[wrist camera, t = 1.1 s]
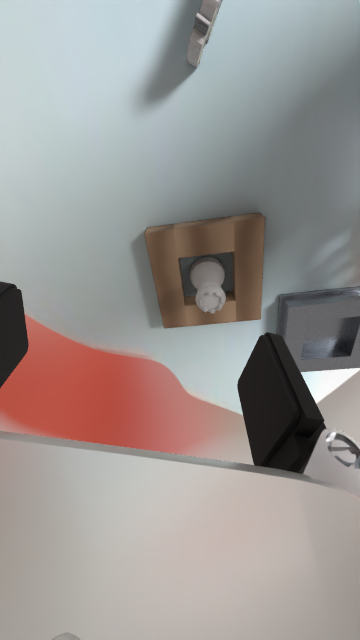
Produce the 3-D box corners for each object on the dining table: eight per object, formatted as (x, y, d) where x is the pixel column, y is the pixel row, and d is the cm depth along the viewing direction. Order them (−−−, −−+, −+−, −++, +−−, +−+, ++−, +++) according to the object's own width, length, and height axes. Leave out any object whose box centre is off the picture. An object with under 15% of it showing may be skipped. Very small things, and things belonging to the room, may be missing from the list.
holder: (382, 284, 35) (394, 293, 33) (358, 358, 42) (367, 369, 40) (279, 294, 36) (285, 304, 34) (273, 364, 43) (278, 376, 41)
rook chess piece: (189, 255, 33) (190, 283, 27) (225, 255, 33) (235, 284, 26) (189, 287, 36) (189, 320, 29) (222, 287, 36) (230, 321, 29)
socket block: (259, 212, 30) (265, 217, 28) (256, 309, 37) (260, 319, 35) (147, 227, 31) (144, 233, 29) (165, 318, 39) (164, 328, 36)
